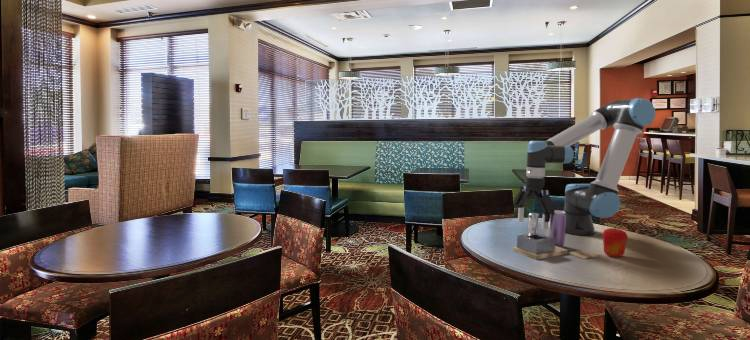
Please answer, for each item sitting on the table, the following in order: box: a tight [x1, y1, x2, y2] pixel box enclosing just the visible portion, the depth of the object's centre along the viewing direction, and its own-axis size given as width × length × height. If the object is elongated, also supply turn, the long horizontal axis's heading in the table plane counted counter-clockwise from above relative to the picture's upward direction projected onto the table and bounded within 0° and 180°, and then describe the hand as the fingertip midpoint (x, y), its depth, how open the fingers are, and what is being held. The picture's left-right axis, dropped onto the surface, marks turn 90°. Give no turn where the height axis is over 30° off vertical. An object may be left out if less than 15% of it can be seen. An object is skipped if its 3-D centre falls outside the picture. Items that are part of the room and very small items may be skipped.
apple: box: [602, 226, 629, 258], centre depth 161 cm, size 9×8×12 cm
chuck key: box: [527, 212, 540, 234], centre depth 179 cm, size 6×4×12 cm
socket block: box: [516, 233, 555, 255], centre depth 164 cm, size 10×10×5 cm
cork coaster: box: [568, 249, 598, 260], centre depth 162 cm, size 7×7×1 cm
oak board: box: [512, 246, 569, 260], centre depth 165 cm, size 17×12×2 cm
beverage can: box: [548, 209, 566, 249], centre depth 172 cm, size 6×6×15 cm
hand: (532, 225), depth 179 cm, fingers open, 13 cm apart
